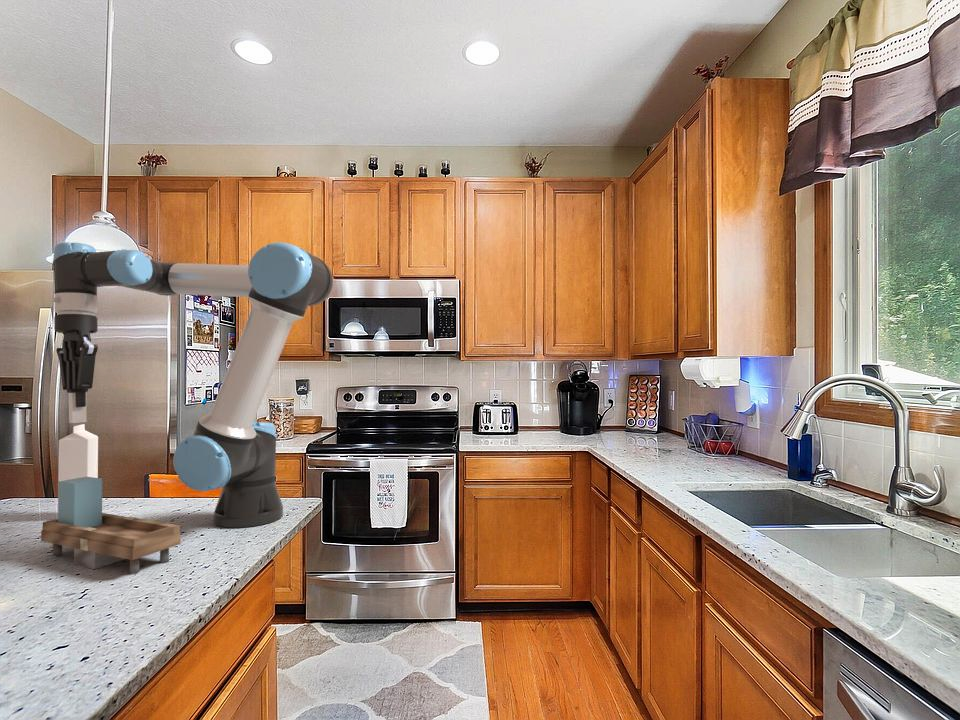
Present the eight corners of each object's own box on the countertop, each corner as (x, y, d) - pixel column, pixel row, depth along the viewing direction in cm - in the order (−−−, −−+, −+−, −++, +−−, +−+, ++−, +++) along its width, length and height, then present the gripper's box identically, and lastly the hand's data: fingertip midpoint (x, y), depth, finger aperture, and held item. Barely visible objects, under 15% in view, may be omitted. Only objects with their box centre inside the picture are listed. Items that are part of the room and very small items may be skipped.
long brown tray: (40, 557, 100) (40, 522, 100) (92, 542, 108) (92, 510, 108) (131, 578, 90) (132, 539, 90) (180, 559, 98) (181, 524, 98)
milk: (57, 520, 124) (57, 427, 124) (69, 513, 130) (69, 424, 130) (87, 518, 126) (87, 426, 126) (98, 511, 131) (98, 423, 132)
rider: (57, 528, 101) (58, 481, 101) (85, 521, 106) (86, 476, 106) (74, 531, 99) (74, 483, 99) (101, 524, 104) (102, 478, 104)
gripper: (41, 316, 115) (43, 424, 114) (70, 310, 109) (72, 424, 108) (81, 318, 122) (82, 420, 121) (110, 313, 115) (112, 420, 114)
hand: (77, 422), depth 114 cm, fingers closed
